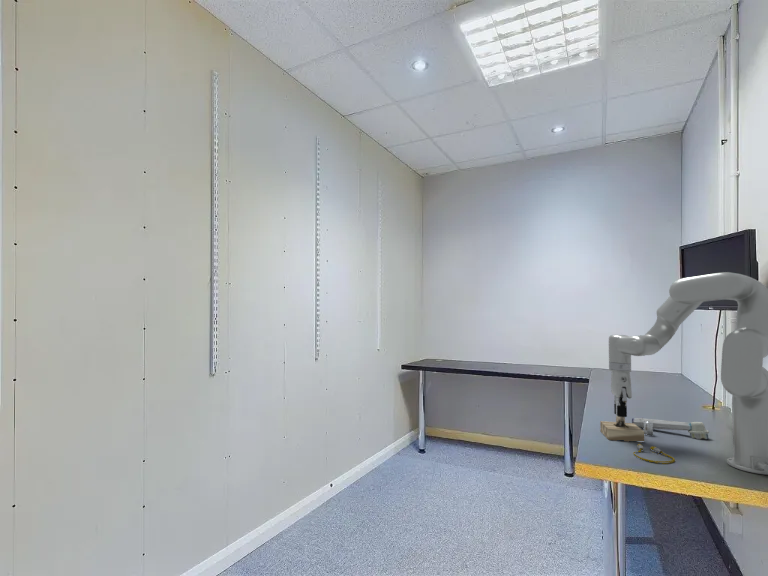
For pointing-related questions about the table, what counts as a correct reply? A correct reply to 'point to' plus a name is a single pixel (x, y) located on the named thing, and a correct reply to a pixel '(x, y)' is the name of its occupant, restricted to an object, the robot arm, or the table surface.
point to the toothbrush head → (676, 426)
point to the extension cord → (656, 451)
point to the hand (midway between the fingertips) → (620, 415)
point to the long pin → (619, 420)
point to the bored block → (621, 431)
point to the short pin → (648, 427)
